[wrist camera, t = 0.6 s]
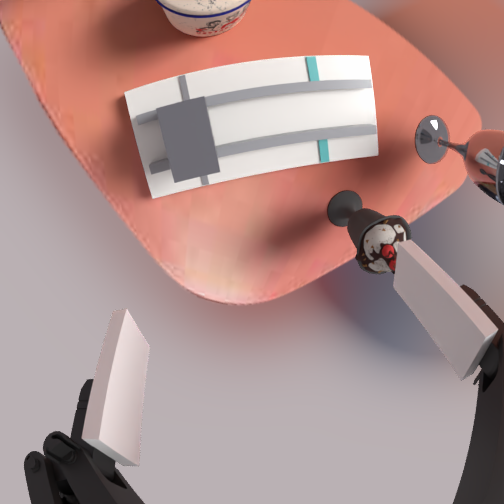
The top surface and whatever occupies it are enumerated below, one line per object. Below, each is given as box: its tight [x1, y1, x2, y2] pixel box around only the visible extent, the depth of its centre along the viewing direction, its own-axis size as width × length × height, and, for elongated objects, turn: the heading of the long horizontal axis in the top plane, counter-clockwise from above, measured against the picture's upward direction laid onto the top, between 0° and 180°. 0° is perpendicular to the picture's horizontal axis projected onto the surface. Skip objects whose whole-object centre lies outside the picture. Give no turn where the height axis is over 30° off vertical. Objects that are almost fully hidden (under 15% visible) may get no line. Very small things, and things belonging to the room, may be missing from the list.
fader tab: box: [156, 96, 220, 183], centre depth 23 cm, size 6×4×8 cm, turn 10°
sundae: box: [328, 191, 411, 274], centre depth 29 cm, size 7×7×15 cm
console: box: [124, 55, 378, 199], centre depth 27 cm, size 12×26×4 cm, turn 100°
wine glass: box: [415, 115, 504, 205], centre depth 26 cm, size 8×8×15 cm
